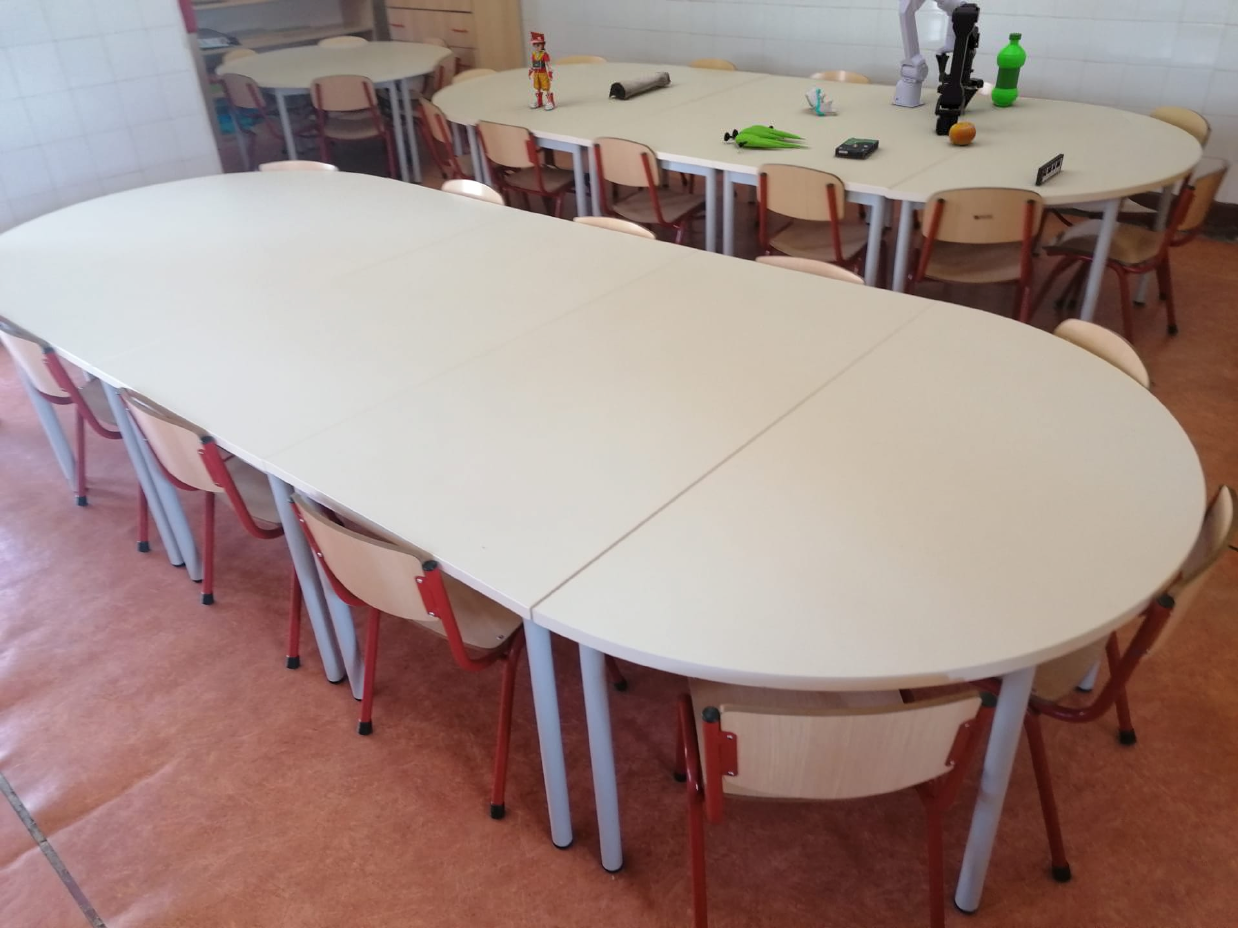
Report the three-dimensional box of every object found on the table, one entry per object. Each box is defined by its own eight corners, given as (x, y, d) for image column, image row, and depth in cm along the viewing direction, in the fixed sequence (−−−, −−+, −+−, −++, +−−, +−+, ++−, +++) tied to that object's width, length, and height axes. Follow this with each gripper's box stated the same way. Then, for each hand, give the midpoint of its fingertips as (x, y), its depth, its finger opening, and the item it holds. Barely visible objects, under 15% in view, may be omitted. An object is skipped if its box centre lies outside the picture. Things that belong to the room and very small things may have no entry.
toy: (525, 109, 381) (517, 32, 364) (534, 104, 388) (527, 28, 371) (550, 110, 377) (543, 32, 360) (559, 105, 384) (553, 28, 367)
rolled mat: (651, 76, 408) (662, 61, 399) (662, 93, 408) (674, 79, 400) (605, 92, 391) (616, 77, 383) (617, 110, 391) (628, 95, 383)
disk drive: (864, 160, 299) (878, 148, 309) (864, 151, 297) (879, 139, 307) (834, 157, 304) (849, 145, 314) (835, 148, 302) (850, 136, 312)
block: (963, 112, 342) (965, 99, 340) (962, 115, 339) (964, 103, 336) (950, 111, 344) (952, 99, 341) (949, 114, 340) (951, 102, 338)
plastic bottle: (1022, 104, 346) (1036, 33, 332) (1005, 109, 342) (1018, 37, 328) (1000, 100, 353) (1012, 30, 339) (983, 104, 349) (995, 34, 335)
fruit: (944, 129, 311) (958, 112, 304) (966, 137, 313) (980, 120, 306) (944, 146, 307) (958, 129, 300) (966, 154, 309) (980, 138, 302)
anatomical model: (800, 85, 355) (825, 78, 354) (804, 112, 360) (828, 105, 360) (810, 94, 342) (836, 87, 341) (813, 121, 348) (839, 114, 347)
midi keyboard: (1039, 185, 269) (1043, 168, 266) (1035, 184, 270) (1038, 168, 267) (1060, 170, 279) (1064, 154, 277) (1056, 169, 280) (1060, 153, 277)
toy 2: (713, 146, 317) (792, 161, 304) (715, 131, 314) (794, 145, 301) (747, 132, 337) (821, 146, 325) (748, 118, 334) (824, 131, 322)
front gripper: (964, 59, 341) (958, 102, 350) (929, 67, 334) (923, 110, 343) (988, 64, 333) (980, 107, 342) (951, 71, 326) (945, 116, 335)
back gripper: (959, 31, 355) (953, 67, 363) (932, 36, 350) (927, 73, 358) (973, 33, 350) (967, 70, 358) (946, 38, 345) (941, 76, 352)
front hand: (956, 110), depth 341 cm, fingers closed on block, 7 cm apart
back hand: (948, 72), depth 357 cm, fingers open, 7 cm apart
